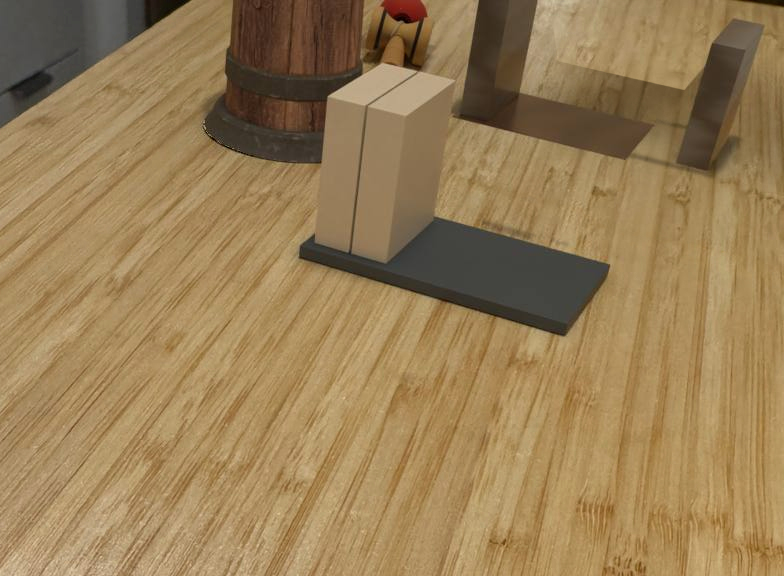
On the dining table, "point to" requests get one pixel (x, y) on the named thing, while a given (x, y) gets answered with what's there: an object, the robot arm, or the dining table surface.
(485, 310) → the dark base with blocks
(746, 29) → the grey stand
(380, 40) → the kendama
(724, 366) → the dining table surface
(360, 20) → the tankard
